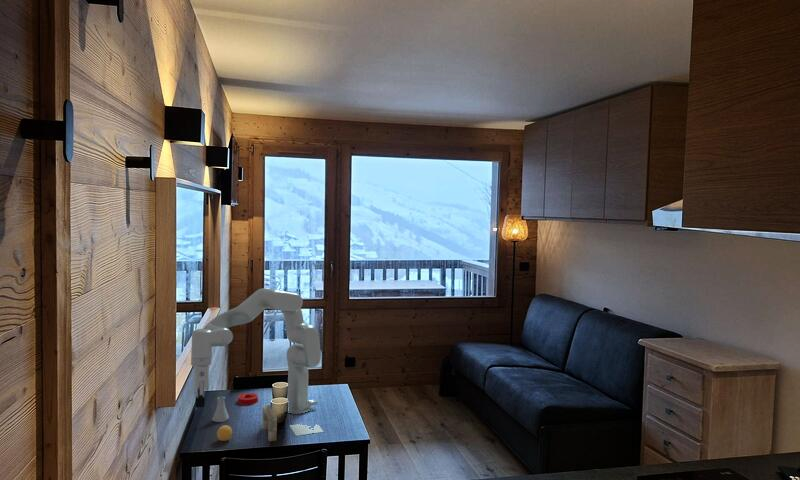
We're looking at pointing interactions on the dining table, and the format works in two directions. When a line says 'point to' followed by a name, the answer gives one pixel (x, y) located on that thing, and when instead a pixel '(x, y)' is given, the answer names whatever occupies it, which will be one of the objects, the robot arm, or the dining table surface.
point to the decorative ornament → (247, 399)
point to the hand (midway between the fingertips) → (199, 406)
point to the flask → (220, 411)
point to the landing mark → (305, 429)
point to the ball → (224, 433)
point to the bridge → (269, 422)
